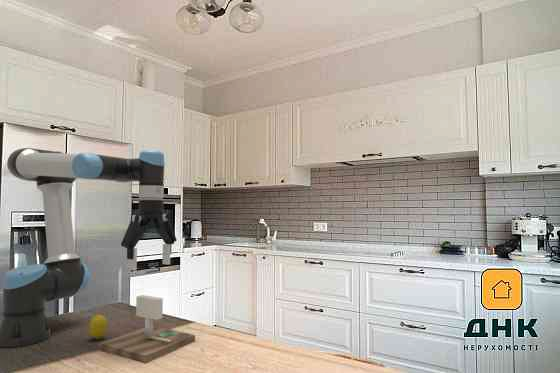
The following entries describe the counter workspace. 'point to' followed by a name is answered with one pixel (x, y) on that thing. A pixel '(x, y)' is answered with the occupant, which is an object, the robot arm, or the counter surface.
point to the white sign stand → (150, 313)
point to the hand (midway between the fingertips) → (150, 267)
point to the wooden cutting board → (146, 344)
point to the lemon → (98, 326)
